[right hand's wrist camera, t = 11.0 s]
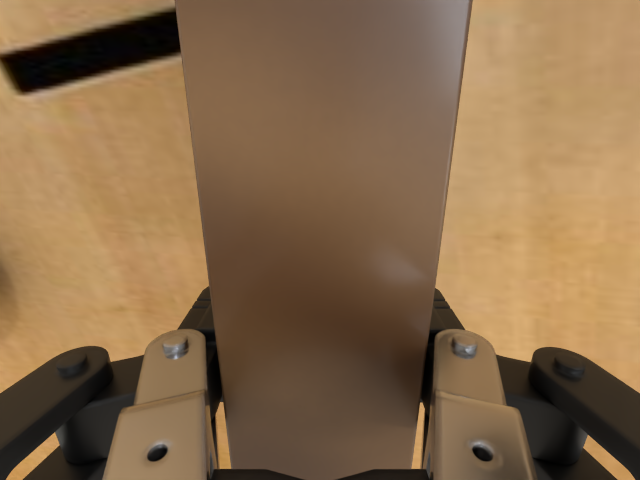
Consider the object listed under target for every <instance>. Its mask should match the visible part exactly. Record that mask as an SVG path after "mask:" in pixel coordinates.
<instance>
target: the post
mask: <svg viewBox="0 0 640 480" xmlns="http://www.w3.org/2000/svg"><path fill="white" fill-rule="evenodd" d="M472 1H473V0H175V6H176V14H177V22H178V30H179V39H180V47H181V55H182V63H183V72H184V80H185V88H186V97H187V105H188V113H189V121H190V130H191V138H192V146H193V154H194V163H195V171H196V179H197V188H198V196H199V204H200V212H201V221H202V229H203V237H204V246H205V254H206V262H207V270H208V279H209V287H210V295H211V303H212V312H213V320H214V328H215V337H216V345H217V353H218V361H219V370H220V378H221V386H222V394H223V403H224V411H225V419H226V428H227V436H228V444H229V452H230V461H231V469H267V470H271V471H275V472H278V473H282V474H286V475H289V476H293V477H297V478H300V479H304V480H336V479H340V478H343V477H347V476H351V475H354V474H358V473H362V472H365V471H369V470H373V469H411V467H412V459H413V452H414V444H415V436H416V429H417V421H418V414H419V406H420V398H421V391H422V383H423V375H424V368H425V360H426V353H427V345H428V337H429V330H430V322H431V314H432V307H433V299H434V291H435V284H436V276H437V269H438V261H439V253H440V246H441V238H442V230H443V223H444V215H445V207H446V200H447V192H448V185H449V177H450V169H451V162H452V154H453V146H454V139H455V131H456V123H457V116H458V108H459V101H460V93H461V85H462V78H463V70H464V62H465V55H466V47H467V40H468V32H469V24H470V17H471V9H472Z"/></svg>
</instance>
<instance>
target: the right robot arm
mask: <svg viewBox="0 0 640 480" xmlns="http://www.w3.org/2000/svg"><path fill="white" fill-rule="evenodd" d="M220 402H223V394H222V386H221V378H220V370H219V361H218V353H217V345H216V337H215V328H214V320H213V312H212V303H211V295H210V287H207V288H206V289H204V290H203V291H202V292H201V294H200V296H199V297H198V299H197V301H196V302H195V303H194V305H193V306H192V308H191V309H190V311H189V312H188V314H187V315H186V317H185V319H184V320H183V322H182V323H181V325H180V326H179V328H178V329H177V330H174V331H170V332H167V333H165V334H162V335H160V336H159V337H157V338H156V339H154V340H153V341H152V342H151V343H150V344H149V345H148V346H147V348H146V350H145V354H144V355H142V356H138V357H133V358H129V359H124V360H119V361H114V362H110V358H109V354H108V352H107V350H106V349H104V348H102V347H97V346H86V347H80V348H76V349H72V350H70V351H67V352H64V353H62V354H60V355H58V356H56V357H54V358H53V359H51V360H49V361H48V362H46V363H45V364H43V365H42V366H40V367H39V368H37V369H36V370H35V371H33V372H32V373H30V374H29V375H27V376H26V377H24V378H23V379H21V380H20V381H18V382H17V383H15V384H14V385H12V386H11V387H9V388H8V389H6V390H5V391H3V392H2V393H0V480H6V478H7V477H8V475H9V474H10V472H11V471H12V470H13V469H14V468H15V467H16V466H17V465H18V464H19V463H20V462H21V461H22V460H23V459H25V458H26V457H27V456H28V455H29V454H30V453H31V452H33V451H34V450H35V449H36V448H37V447H38V446H39V445H40V444H42V443H43V442H44V441H45V440H46V439H47V438H48V437H50V436H51V435H52V434H53V433H54V432H55V433H56V436H57V438H58V441H59V444H60V446H58V447H57V448H56V449H55V450H54V451H53V452H52V453H51V454H50V455H49V456H48V457H47V458H46V459H44V460H43V461H42V462H41V463H40V464H39V465H38V466H37V467H36V468H35V469H34V470H33V471H31V472H30V473H29V474H28V475H27V476H26V477H25V478H24V479H23V480H304V479H300V478H297V477H293V476H289V475H286V474H282V473H278V472H275V471H271V470H267V469H220V464H219V448H218V432H217V419H216V412H217V409H218V406H219V403H220ZM420 402H423V405H424V408H425V412H424V420H423V432H422V448H421V464H420V469H373V470H369V471H365V472H362V473H358V474H354V475H351V476H347V477H343V478H340V479H336V480H617V479H616V478H615V477H614V476H613V475H612V474H611V473H610V472H609V471H607V470H606V469H605V468H604V467H603V466H602V465H601V464H600V463H599V462H598V461H597V460H596V459H594V458H593V457H592V456H591V455H590V454H589V453H588V452H587V451H586V450H585V449H584V448H583V446H584V444H585V441H586V438H587V436H588V435H589V436H590V437H592V438H593V439H594V440H595V441H596V442H597V443H598V444H600V445H601V446H602V447H603V448H604V449H605V450H606V451H608V452H609V453H610V454H611V455H612V456H613V457H614V458H615V459H617V460H618V461H619V462H620V463H621V464H622V465H623V466H625V467H626V468H627V469H628V470H629V472H630V473H631V474H632V475H633V477H634V478H635V480H640V393H638V392H637V391H635V390H634V389H632V388H631V387H629V386H628V385H626V384H625V383H623V382H622V381H620V380H619V379H617V378H616V377H614V376H613V375H611V374H610V373H608V372H607V371H605V370H604V369H603V368H601V367H600V366H598V365H597V364H595V363H594V362H592V361H590V360H589V359H587V358H585V357H584V356H582V355H579V354H577V353H575V352H572V351H569V350H565V349H561V348H555V347H544V348H540V349H537V350H536V351H535V352H534V353H533V357H532V360H531V362H526V361H521V360H516V359H512V358H507V357H503V356H499V355H496V354H495V350H494V348H493V346H492V345H491V344H490V343H489V342H488V341H487V340H486V339H485V338H483V337H481V336H480V335H478V334H475V333H473V332H470V331H466V330H465V329H464V327H463V326H462V324H461V323H460V321H459V320H458V318H457V317H456V315H455V314H454V312H453V311H452V309H450V306H449V305H448V303H447V302H446V301H445V299H444V297H443V296H442V294H441V293H440V291H439V290H438V289H436V288H435V291H434V299H433V307H432V314H431V322H430V330H429V337H428V345H427V353H426V360H425V368H424V375H423V383H422V391H421V398H420Z"/></svg>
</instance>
